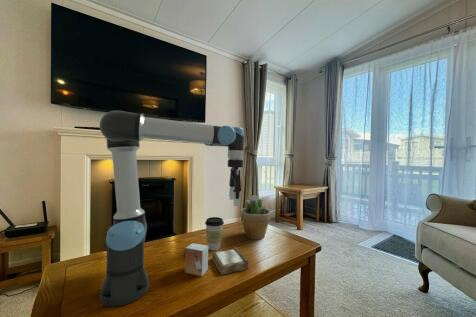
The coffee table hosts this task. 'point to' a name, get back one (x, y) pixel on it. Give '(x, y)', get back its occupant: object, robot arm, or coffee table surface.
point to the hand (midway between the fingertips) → (234, 202)
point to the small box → (196, 259)
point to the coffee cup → (214, 232)
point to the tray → (230, 261)
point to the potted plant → (255, 218)
